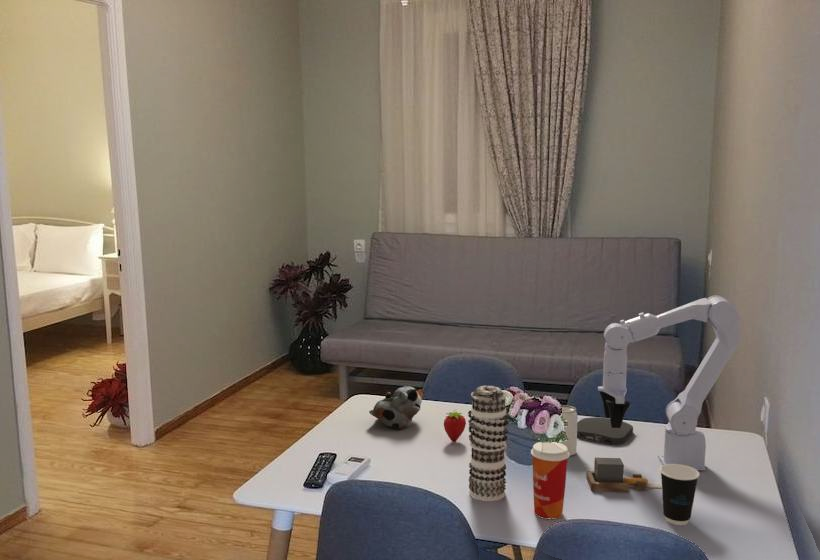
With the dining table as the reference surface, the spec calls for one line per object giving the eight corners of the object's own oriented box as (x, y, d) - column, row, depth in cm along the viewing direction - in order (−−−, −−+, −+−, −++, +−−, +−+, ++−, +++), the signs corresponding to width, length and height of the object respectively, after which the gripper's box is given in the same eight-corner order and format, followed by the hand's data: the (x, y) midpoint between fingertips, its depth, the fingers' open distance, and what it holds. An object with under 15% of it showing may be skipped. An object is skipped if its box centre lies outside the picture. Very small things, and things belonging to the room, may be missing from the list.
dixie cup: (676, 531, 151) (679, 481, 150) (649, 515, 159) (651, 467, 157) (704, 524, 155) (708, 474, 153) (677, 508, 162) (680, 461, 160)
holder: (656, 480, 177) (656, 472, 177) (664, 493, 170) (665, 485, 169) (586, 477, 178) (586, 470, 178) (591, 490, 171) (591, 483, 171)
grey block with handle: (645, 482, 175) (647, 458, 175) (650, 490, 172) (651, 465, 171) (593, 481, 176) (594, 457, 176) (596, 488, 172) (597, 463, 172)
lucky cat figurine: (383, 413, 225) (405, 374, 225) (414, 434, 220) (436, 394, 220) (361, 413, 212) (384, 371, 211) (393, 436, 207) (417, 393, 206)
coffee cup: (525, 505, 163) (526, 440, 161) (561, 504, 164) (563, 439, 162) (534, 523, 155) (536, 455, 153) (572, 521, 156) (575, 454, 154)
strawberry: (469, 439, 204) (469, 404, 202) (460, 448, 197) (460, 412, 196) (449, 436, 206) (449, 401, 205) (439, 445, 199) (439, 409, 198)
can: (576, 457, 191) (578, 413, 189) (551, 455, 192) (552, 411, 190) (576, 448, 197) (577, 405, 195) (551, 446, 198) (552, 404, 197)
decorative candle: (496, 505, 163) (499, 397, 160) (460, 496, 168) (461, 390, 164) (513, 490, 171) (516, 386, 167) (478, 481, 176) (479, 380, 172)
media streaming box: (636, 432, 211) (636, 422, 210) (621, 448, 198) (621, 437, 198) (586, 423, 218) (587, 413, 218) (569, 437, 206) (569, 427, 206)
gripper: (593, 363, 194) (591, 412, 196) (604, 378, 180) (602, 431, 181) (620, 363, 193) (618, 413, 195) (634, 379, 179) (631, 432, 181)
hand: (612, 422), depth 188 cm, fingers open, 7 cm apart
